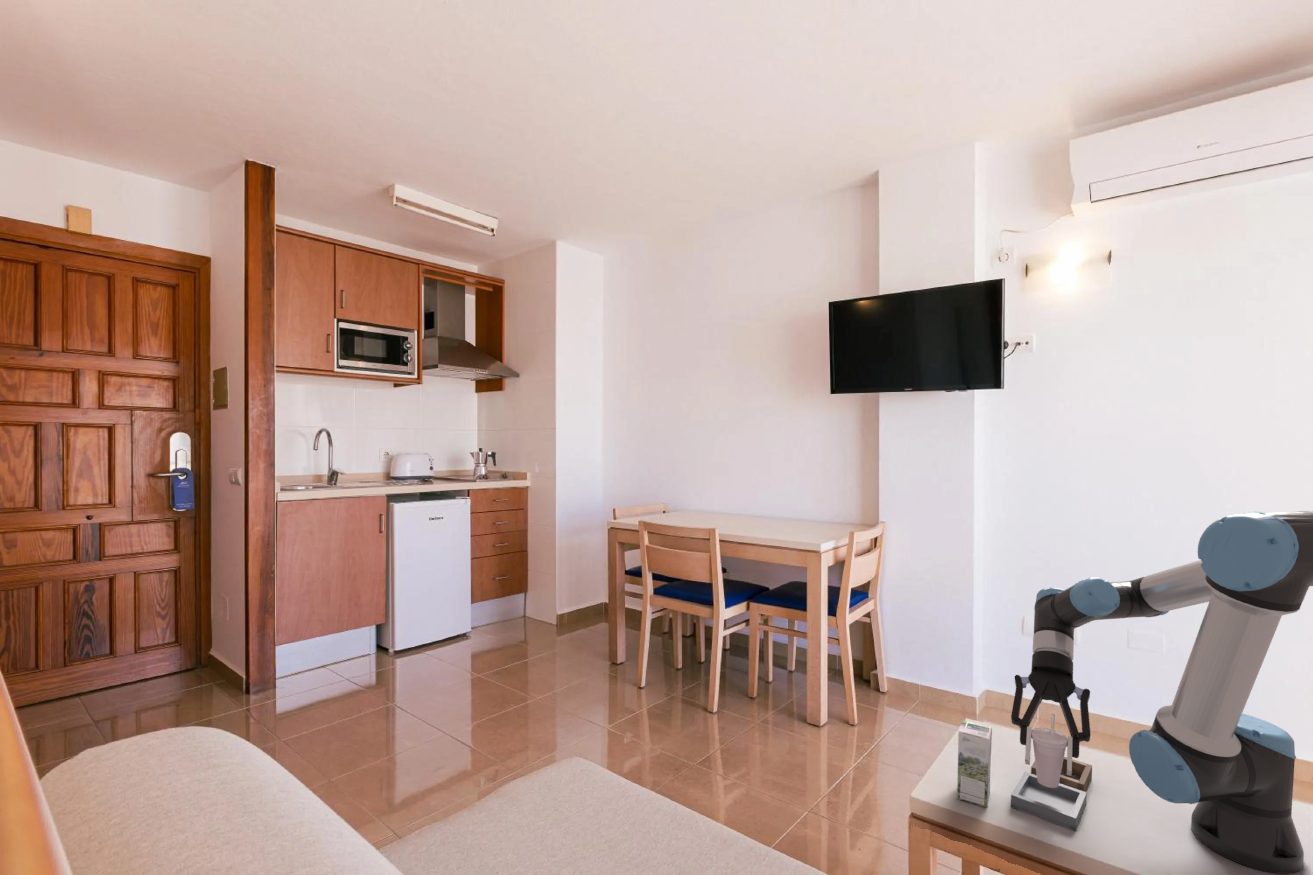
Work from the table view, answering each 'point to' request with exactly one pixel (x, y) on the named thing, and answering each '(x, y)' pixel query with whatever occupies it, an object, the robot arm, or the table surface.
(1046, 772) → the smoothie
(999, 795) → the table surface
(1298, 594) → the robot arm
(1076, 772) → the collar
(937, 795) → the table surface
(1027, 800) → the tray
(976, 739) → the syrup box
